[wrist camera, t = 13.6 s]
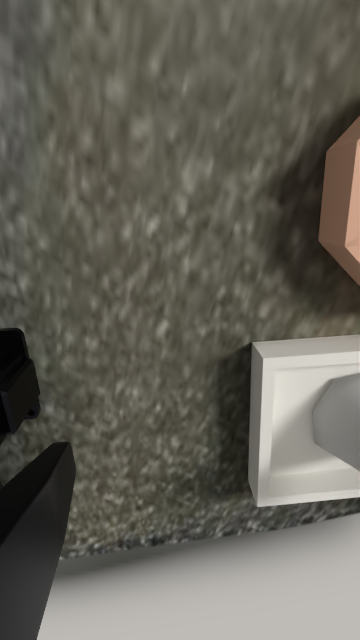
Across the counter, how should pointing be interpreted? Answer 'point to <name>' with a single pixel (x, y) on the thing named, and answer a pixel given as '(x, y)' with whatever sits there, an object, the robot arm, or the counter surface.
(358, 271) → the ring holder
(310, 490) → the tray
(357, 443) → the flask
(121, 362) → the counter surface
